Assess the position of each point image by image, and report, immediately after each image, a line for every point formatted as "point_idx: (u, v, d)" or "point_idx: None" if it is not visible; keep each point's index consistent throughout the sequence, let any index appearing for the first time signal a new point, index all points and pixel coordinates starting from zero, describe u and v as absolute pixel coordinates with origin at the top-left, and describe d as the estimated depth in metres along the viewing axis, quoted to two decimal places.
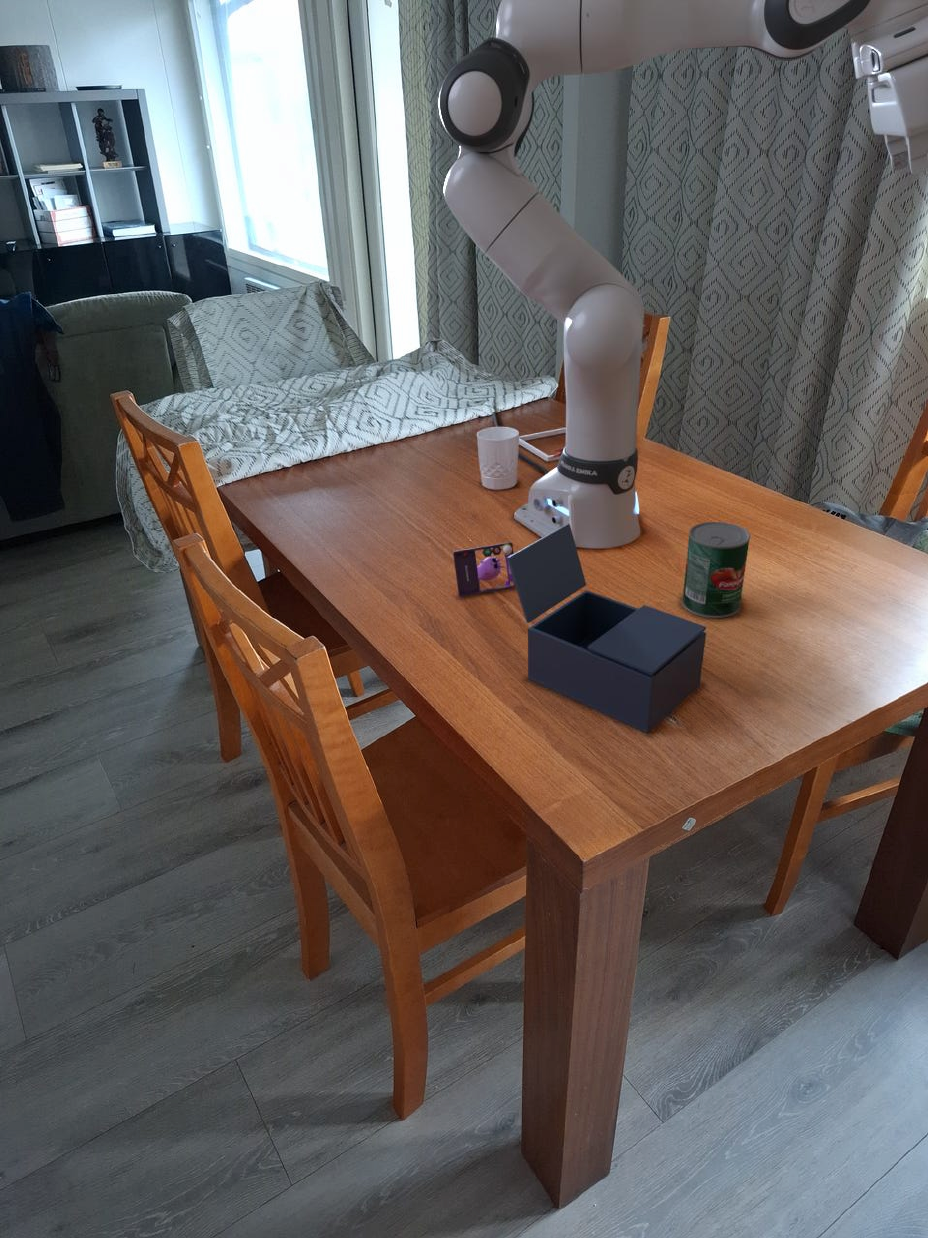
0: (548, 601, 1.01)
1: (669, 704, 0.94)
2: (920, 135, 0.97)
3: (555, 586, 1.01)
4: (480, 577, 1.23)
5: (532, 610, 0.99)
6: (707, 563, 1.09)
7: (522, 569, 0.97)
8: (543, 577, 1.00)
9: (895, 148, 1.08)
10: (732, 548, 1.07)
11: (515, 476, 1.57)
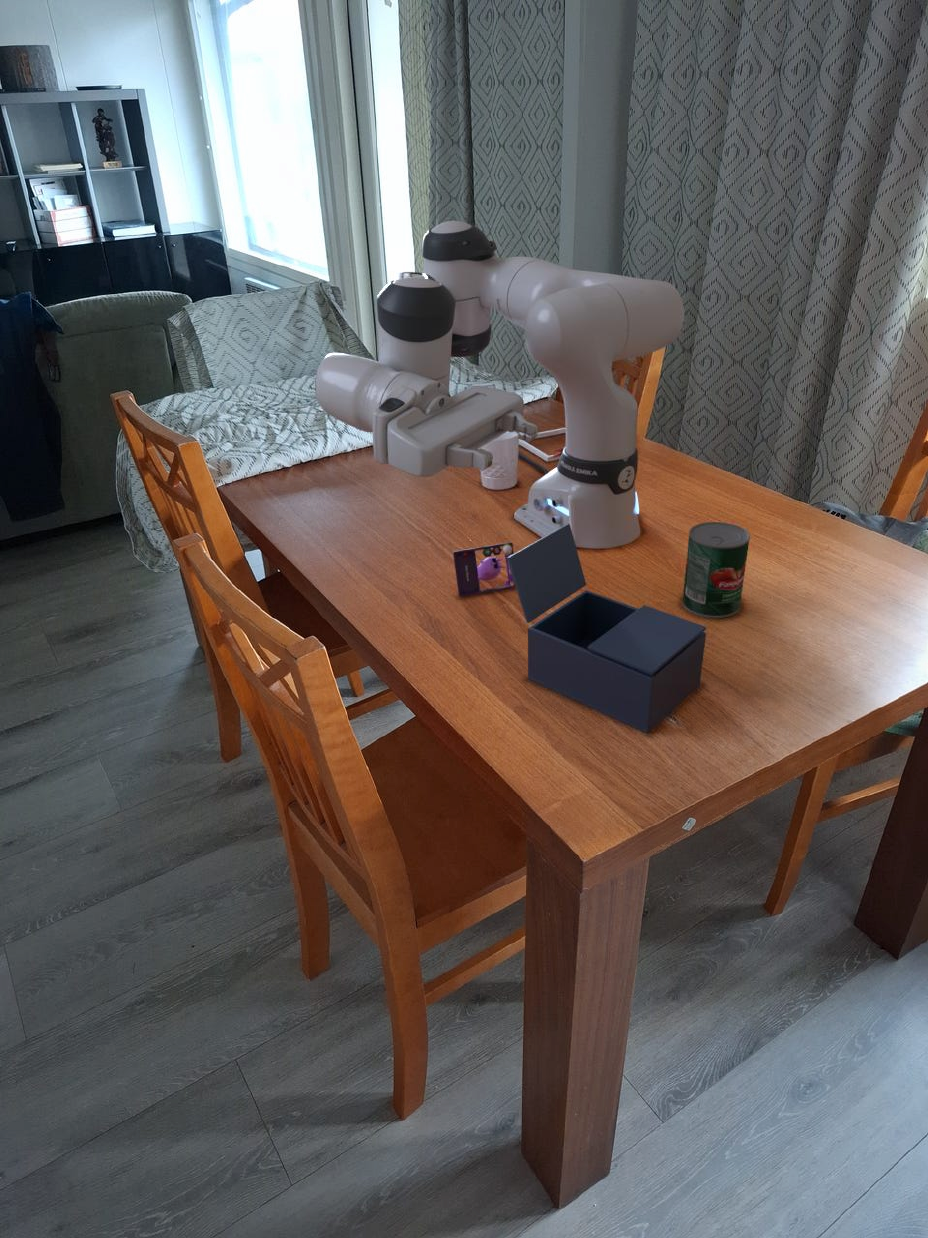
0: (548, 601, 1.01)
1: (669, 704, 0.94)
2: (450, 455, 0.93)
3: (555, 586, 1.01)
4: (480, 577, 1.23)
5: (532, 610, 0.99)
6: (707, 563, 1.09)
7: (522, 569, 0.97)
8: (543, 577, 1.00)
9: (519, 428, 1.00)
10: (732, 548, 1.07)
11: (515, 476, 1.57)
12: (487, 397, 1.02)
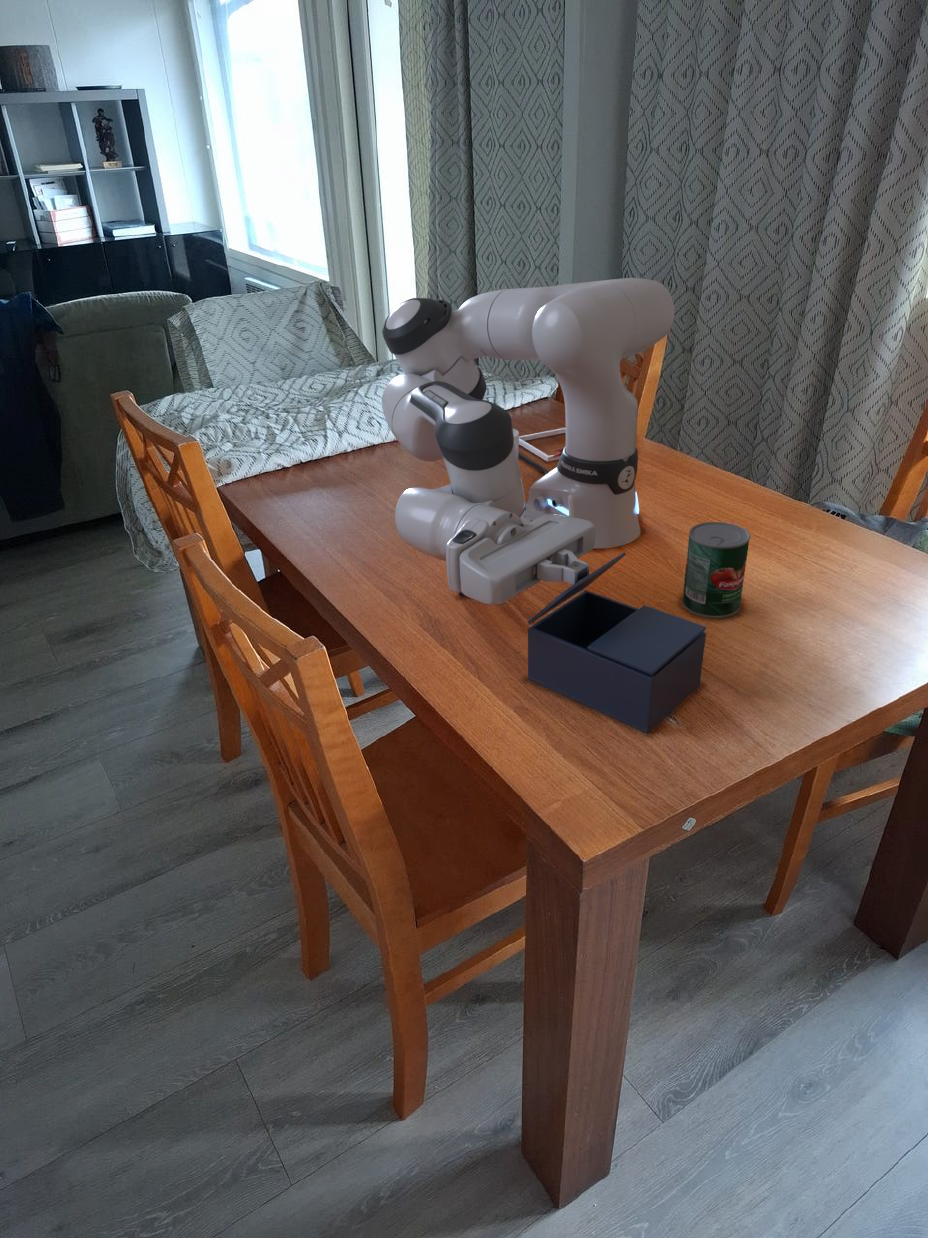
0: (555, 606, 1.00)
1: (669, 704, 0.94)
2: (541, 570, 0.98)
3: (569, 596, 1.00)
4: None
5: (540, 616, 0.98)
6: (707, 563, 1.09)
7: (565, 595, 0.94)
8: (570, 594, 0.98)
9: None
10: (732, 548, 1.07)
11: None
12: (559, 525, 1.05)
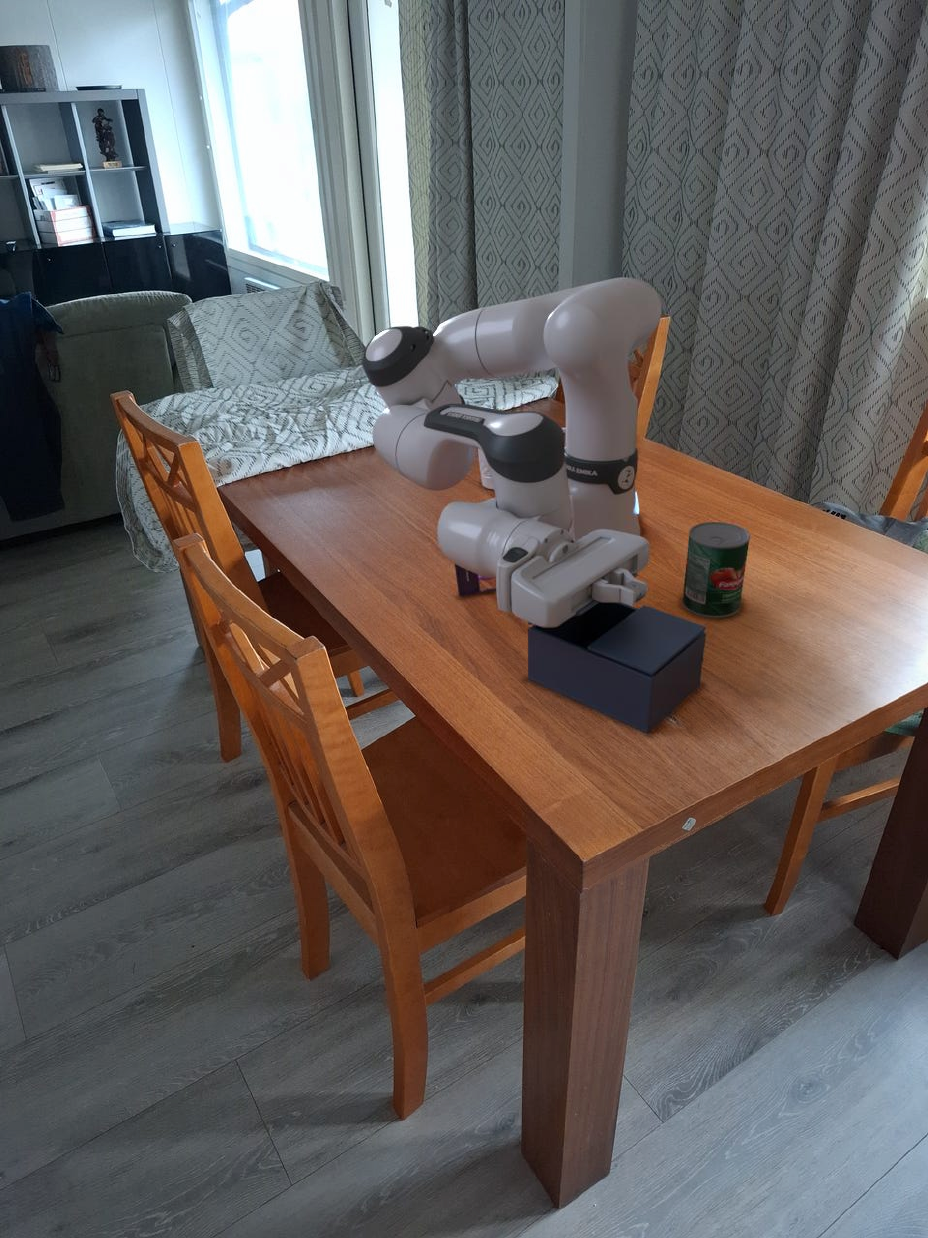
0: None
1: (669, 704, 0.94)
2: (597, 591, 0.93)
3: None
4: (480, 577, 1.23)
5: None
6: (707, 563, 1.09)
7: None
8: None
9: None
10: (732, 548, 1.07)
11: None
12: (611, 541, 1.00)
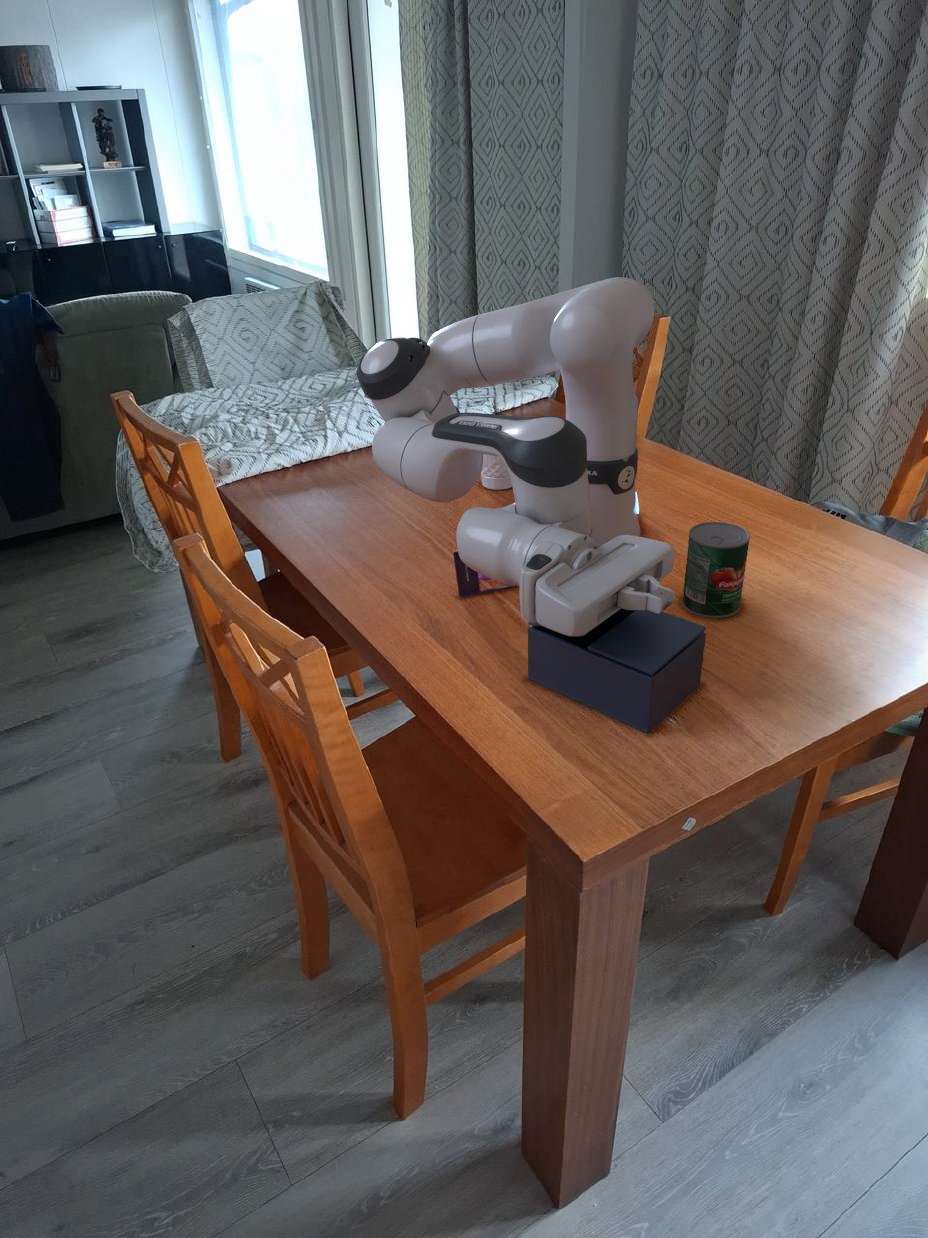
0: None
1: (669, 704, 0.94)
2: (623, 598, 0.91)
3: None
4: (480, 577, 1.23)
5: None
6: (707, 563, 1.09)
7: None
8: None
9: None
10: (732, 548, 1.07)
11: None
12: (635, 548, 0.98)
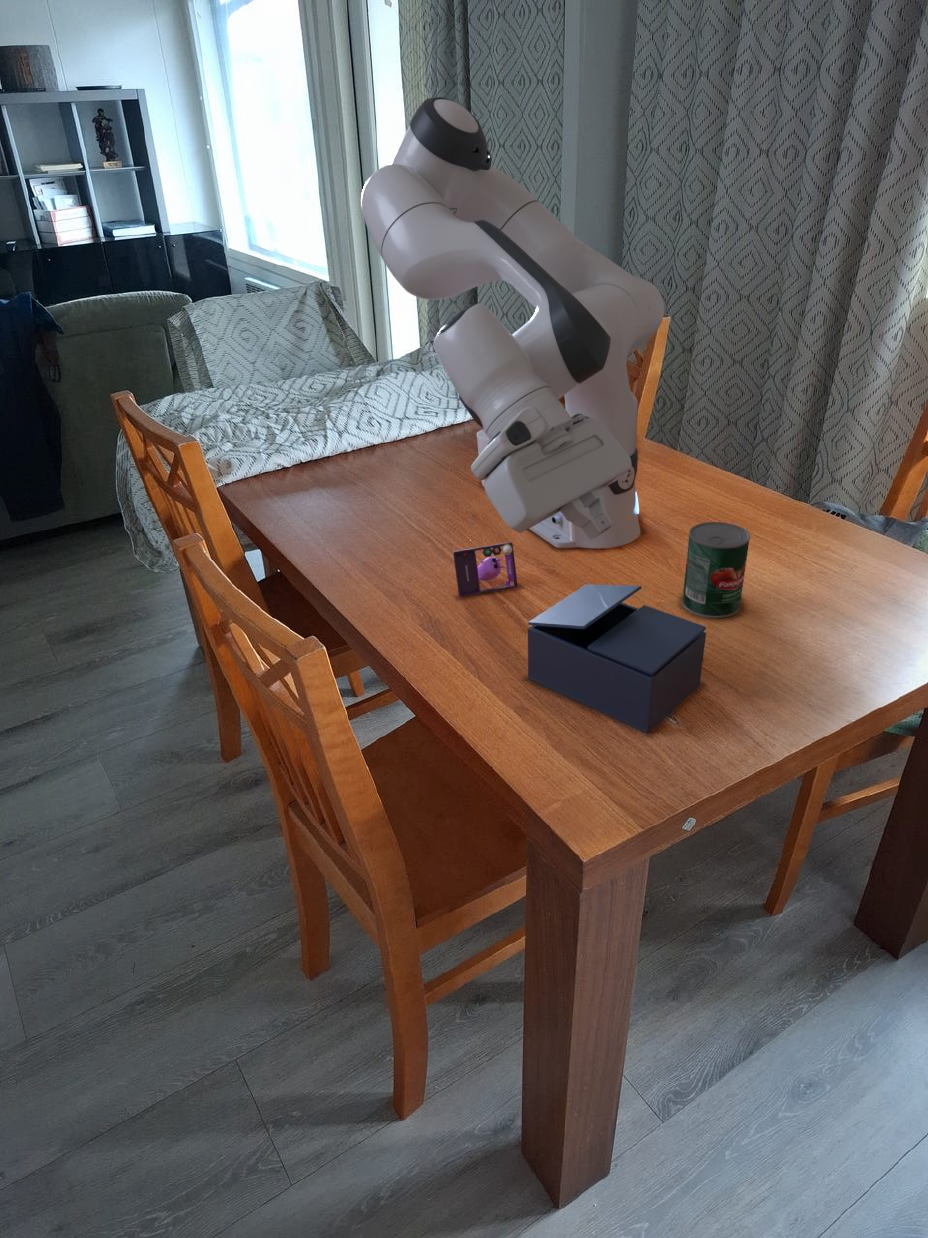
0: None
1: (669, 704, 0.94)
2: (569, 509, 0.91)
3: None
4: (480, 577, 1.23)
5: None
6: (707, 563, 1.09)
7: None
8: None
9: (594, 512, 0.94)
10: (732, 548, 1.07)
11: None
12: (602, 449, 0.96)
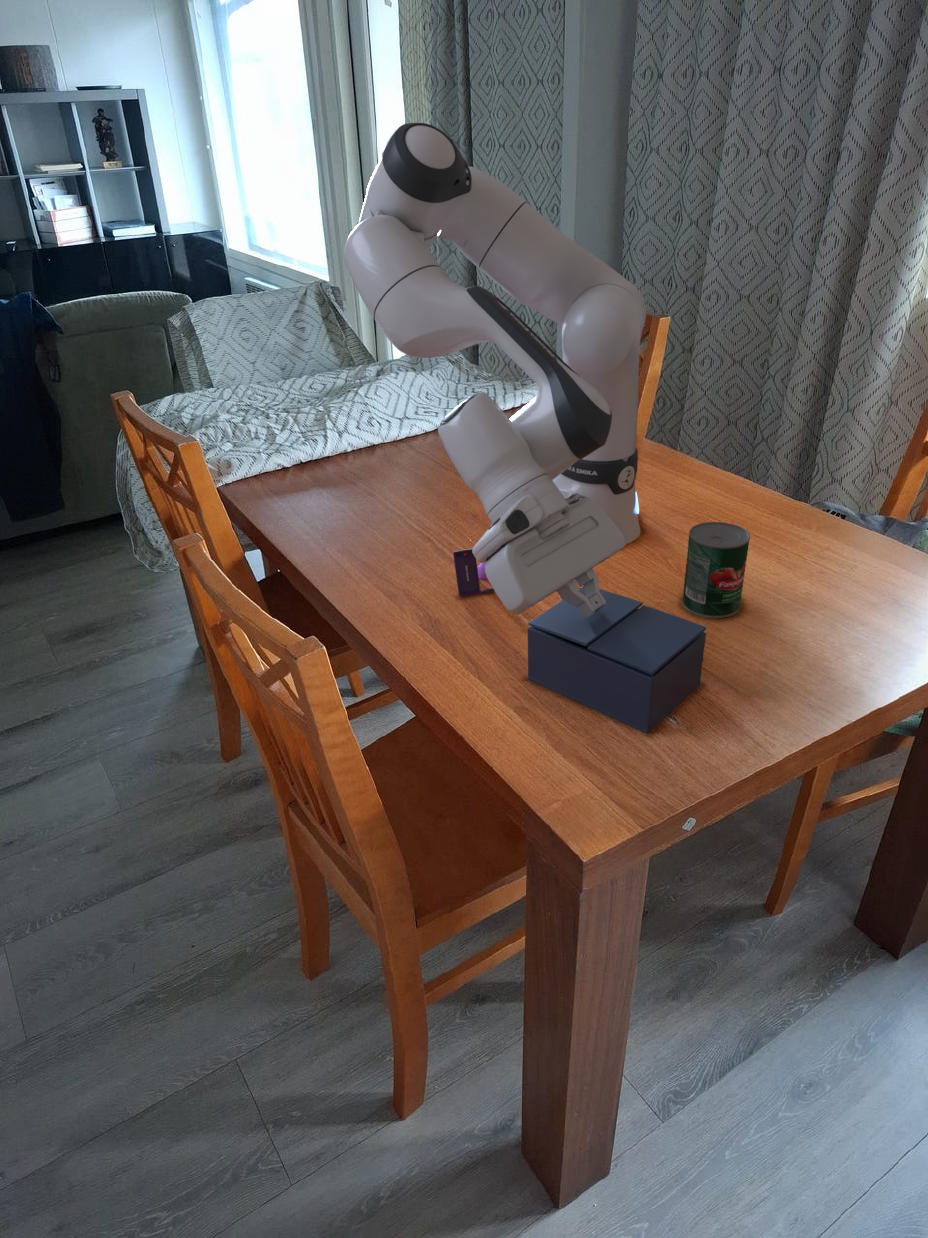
0: None
1: (669, 704, 0.94)
2: (565, 590, 0.96)
3: None
4: (480, 577, 1.23)
5: None
6: (707, 563, 1.09)
7: None
8: None
9: (589, 591, 0.99)
10: (732, 548, 1.07)
11: None
12: (597, 529, 1.01)
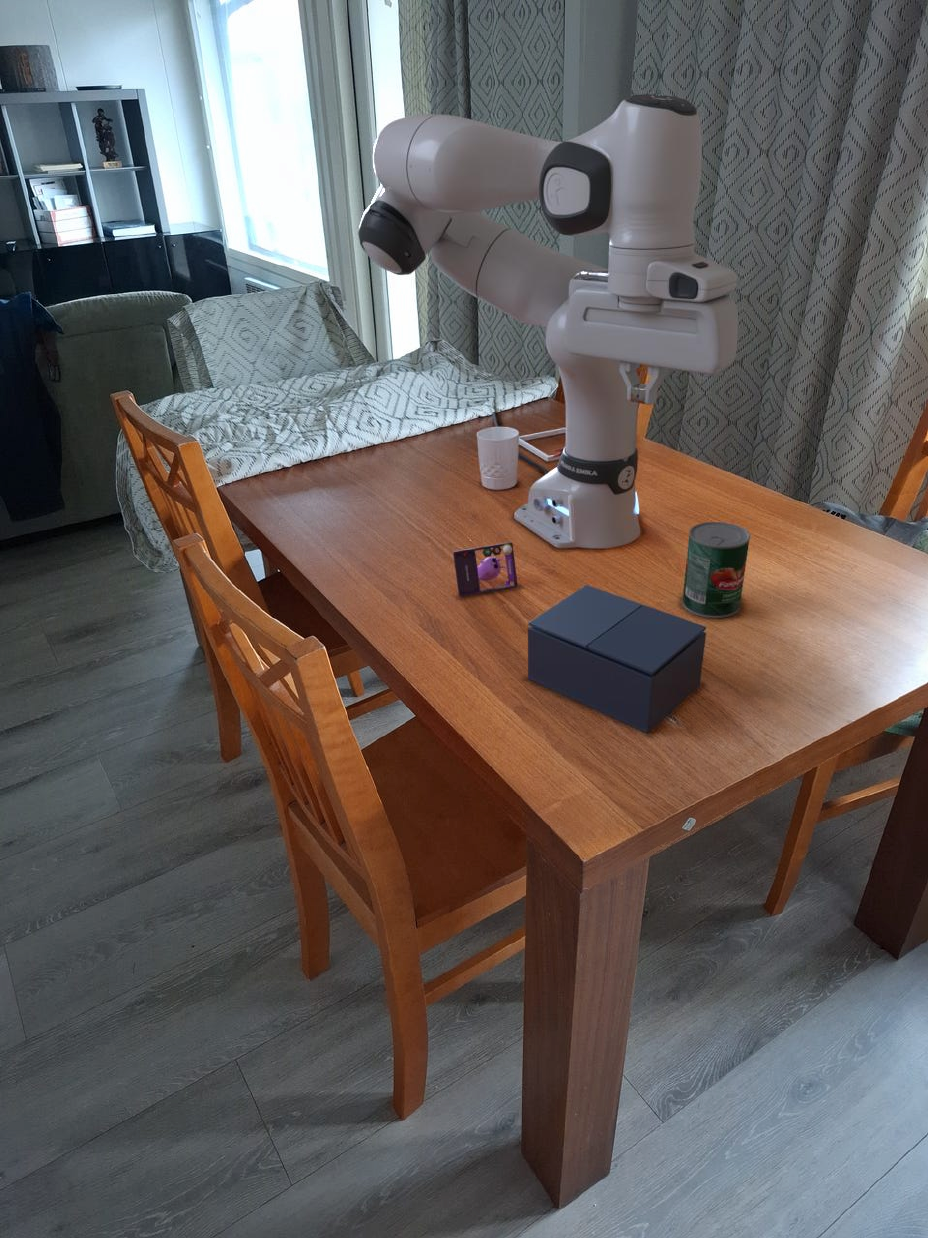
0: None
1: (669, 704, 0.94)
2: (664, 368, 0.92)
3: None
4: (480, 577, 1.23)
5: None
6: (707, 563, 1.09)
7: None
8: None
9: (632, 379, 0.94)
10: (732, 548, 1.07)
11: (515, 476, 1.57)
12: None
